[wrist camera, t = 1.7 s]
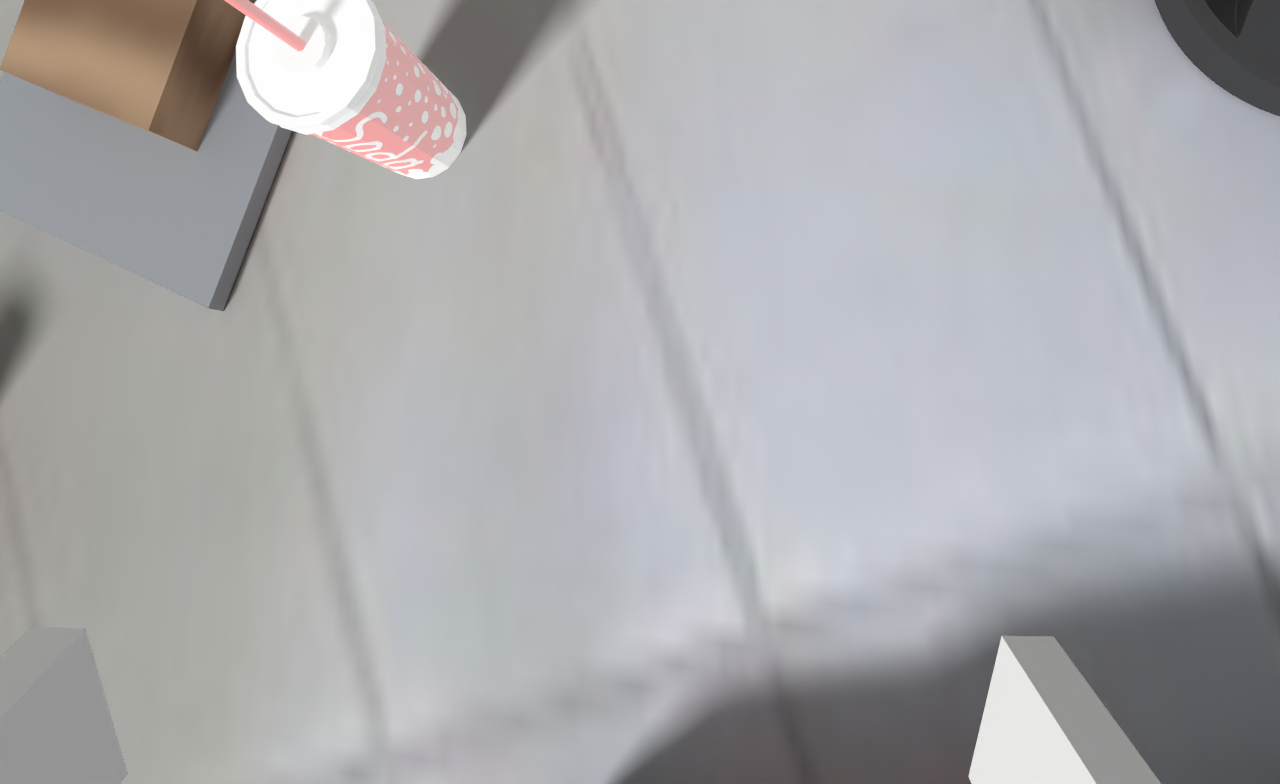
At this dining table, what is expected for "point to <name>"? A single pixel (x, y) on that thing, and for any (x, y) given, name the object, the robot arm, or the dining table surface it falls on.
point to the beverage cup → (347, 83)
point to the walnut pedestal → (130, 58)
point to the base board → (141, 185)
